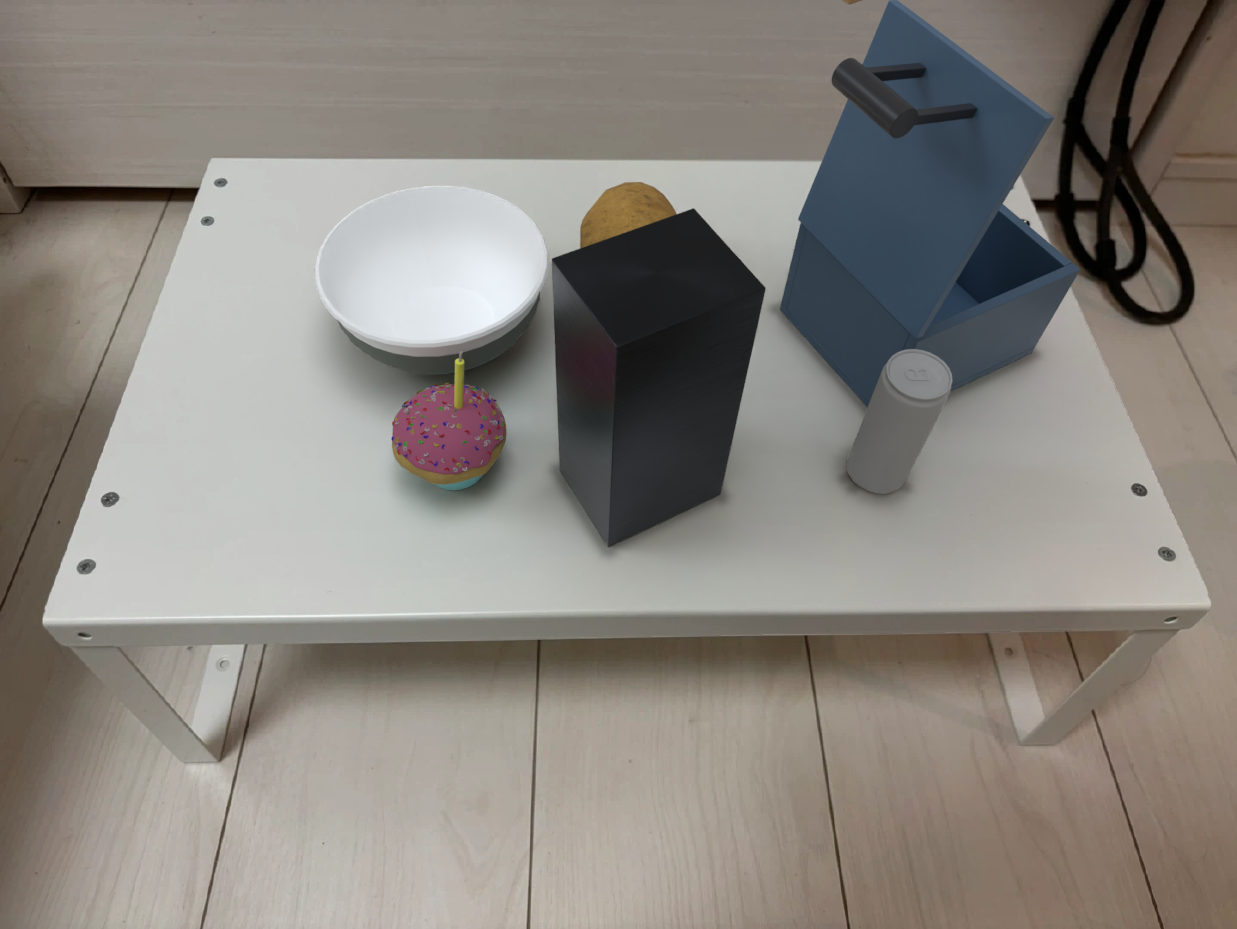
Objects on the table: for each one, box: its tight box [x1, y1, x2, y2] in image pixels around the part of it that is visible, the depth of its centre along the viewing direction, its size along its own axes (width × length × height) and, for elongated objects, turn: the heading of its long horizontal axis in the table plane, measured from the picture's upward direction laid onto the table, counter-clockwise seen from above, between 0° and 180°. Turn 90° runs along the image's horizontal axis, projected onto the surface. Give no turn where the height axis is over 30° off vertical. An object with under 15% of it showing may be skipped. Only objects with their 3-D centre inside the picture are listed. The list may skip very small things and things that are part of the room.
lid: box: [797, 0, 1055, 339], centre depth 63 cm, size 18×15×8 cm
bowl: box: [313, 185, 550, 375], centre depth 78 cm, size 19×19×8 cm
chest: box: [779, 203, 1081, 408], centre depth 79 cm, size 17×15×10 cm
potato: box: [579, 181, 677, 249], centre depth 81 cm, size 10×13×9 cm
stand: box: [551, 207, 767, 548], centre depth 63 cm, size 8×10×22 cm
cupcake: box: [391, 351, 507, 491], centre depth 68 cm, size 9×8×12 cm
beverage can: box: [845, 349, 952, 495], centre depth 69 cm, size 5×5×12 cm
